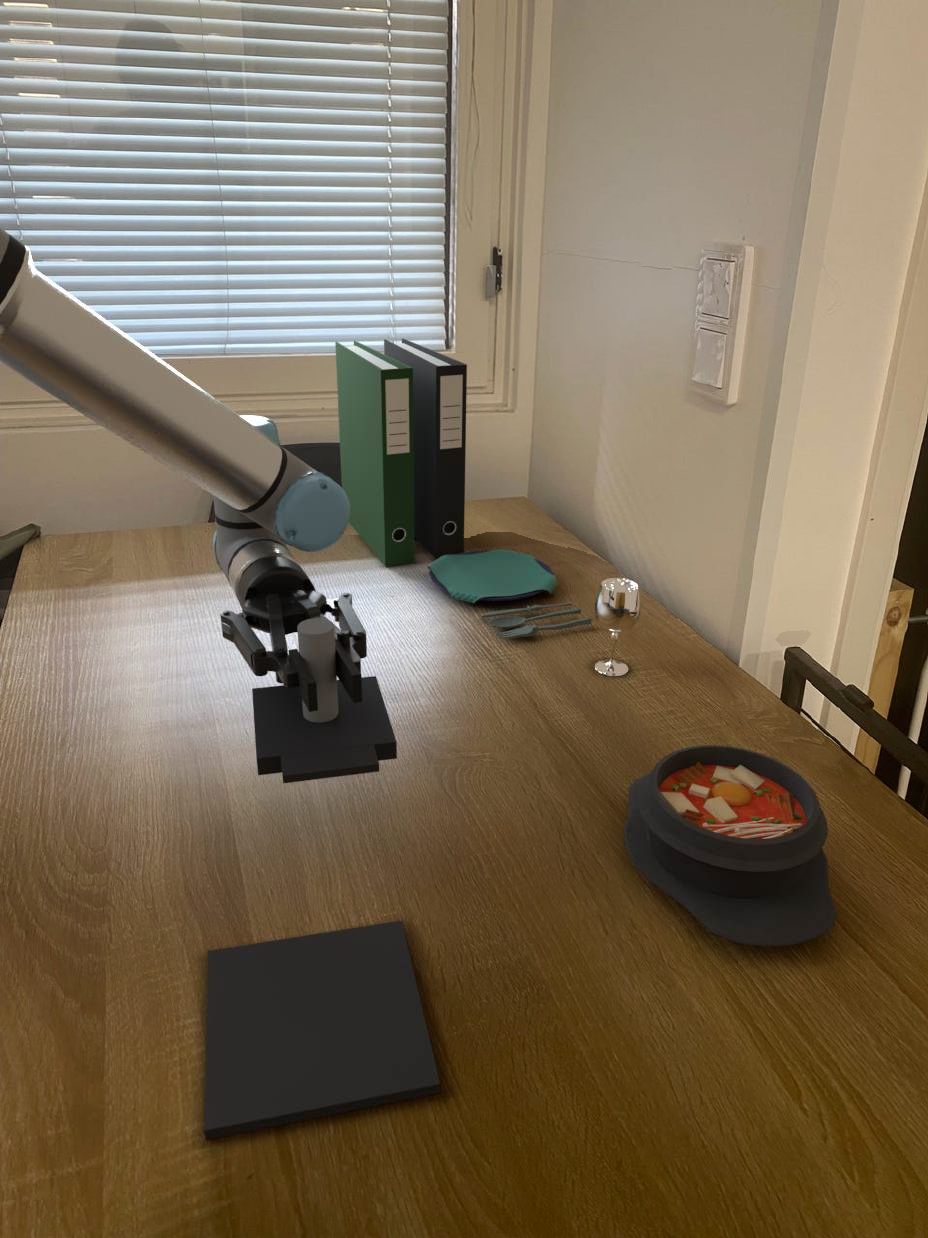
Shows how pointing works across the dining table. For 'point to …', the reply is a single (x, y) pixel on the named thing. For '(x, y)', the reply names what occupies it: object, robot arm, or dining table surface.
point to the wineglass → (616, 617)
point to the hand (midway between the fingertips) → (335, 692)
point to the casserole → (734, 844)
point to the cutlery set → (501, 586)
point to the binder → (403, 448)
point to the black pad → (313, 1029)
